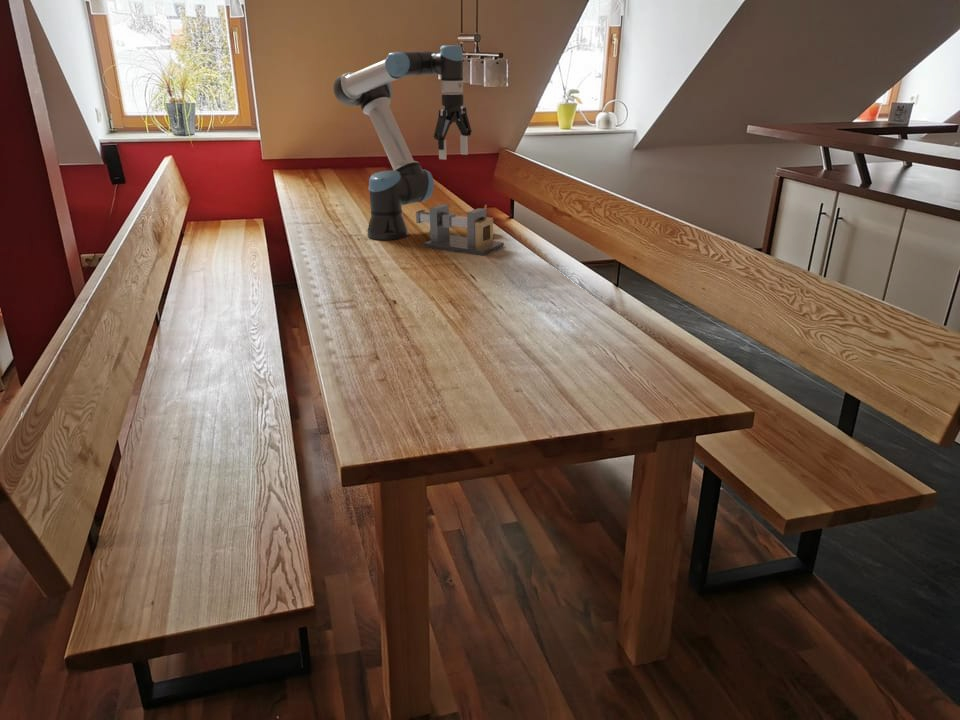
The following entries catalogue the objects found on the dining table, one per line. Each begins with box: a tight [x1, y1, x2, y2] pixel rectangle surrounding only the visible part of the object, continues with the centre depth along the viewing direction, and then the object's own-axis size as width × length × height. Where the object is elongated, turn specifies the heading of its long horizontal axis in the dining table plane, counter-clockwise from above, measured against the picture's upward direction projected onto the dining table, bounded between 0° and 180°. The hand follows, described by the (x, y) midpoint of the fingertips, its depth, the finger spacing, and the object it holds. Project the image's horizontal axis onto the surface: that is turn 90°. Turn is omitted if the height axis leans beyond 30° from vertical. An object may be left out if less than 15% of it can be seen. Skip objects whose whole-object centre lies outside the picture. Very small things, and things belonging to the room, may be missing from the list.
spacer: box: [475, 216, 494, 249], centre depth 263 cm, size 2×9×9 cm, turn 150°
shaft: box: [415, 209, 478, 229], centre depth 269 cm, size 24×4×4 cm, turn 60°
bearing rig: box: [423, 203, 505, 256], centre depth 267 cm, size 25×14×14 cm, turn 60°
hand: (453, 156), depth 268 cm, fingers open, 13 cm apart
